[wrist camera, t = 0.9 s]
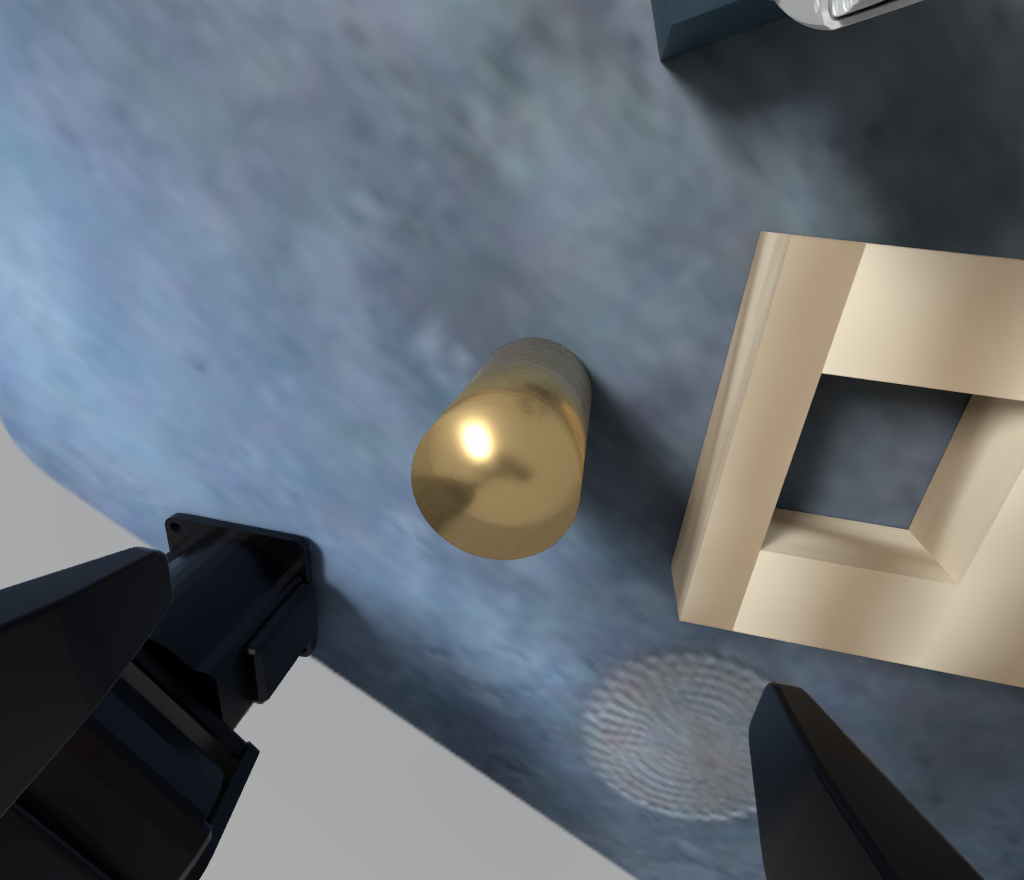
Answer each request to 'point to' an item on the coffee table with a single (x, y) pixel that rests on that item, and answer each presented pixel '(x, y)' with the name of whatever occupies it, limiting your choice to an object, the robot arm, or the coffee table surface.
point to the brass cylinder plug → (508, 453)
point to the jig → (851, 544)
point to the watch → (751, 18)
